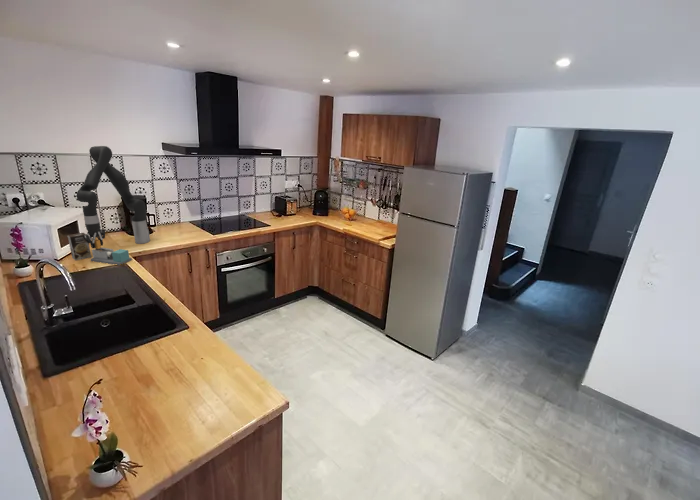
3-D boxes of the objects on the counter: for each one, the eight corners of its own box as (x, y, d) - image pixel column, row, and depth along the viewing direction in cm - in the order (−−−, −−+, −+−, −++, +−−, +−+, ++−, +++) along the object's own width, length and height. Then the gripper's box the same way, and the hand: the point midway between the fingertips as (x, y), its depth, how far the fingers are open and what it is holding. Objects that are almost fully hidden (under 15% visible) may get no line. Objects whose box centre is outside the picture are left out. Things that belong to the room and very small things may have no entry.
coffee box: (75, 260, 223) (70, 237, 218) (72, 258, 227) (66, 235, 221) (92, 257, 230) (87, 234, 224) (88, 254, 234) (83, 232, 228)
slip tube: (95, 256, 226) (91, 240, 222) (99, 254, 229) (96, 239, 226) (111, 258, 224) (108, 243, 220) (115, 256, 227) (112, 241, 223)
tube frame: (90, 261, 224) (88, 250, 221) (104, 255, 233) (101, 245, 231) (119, 265, 220) (117, 254, 217) (131, 259, 229) (130, 249, 227)
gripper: (97, 218, 227) (102, 242, 232) (76, 224, 213) (82, 249, 219) (106, 219, 225) (111, 244, 231) (87, 225, 212) (92, 251, 218)
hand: (97, 246), depth 225 cm, fingers open, 5 cm apart
